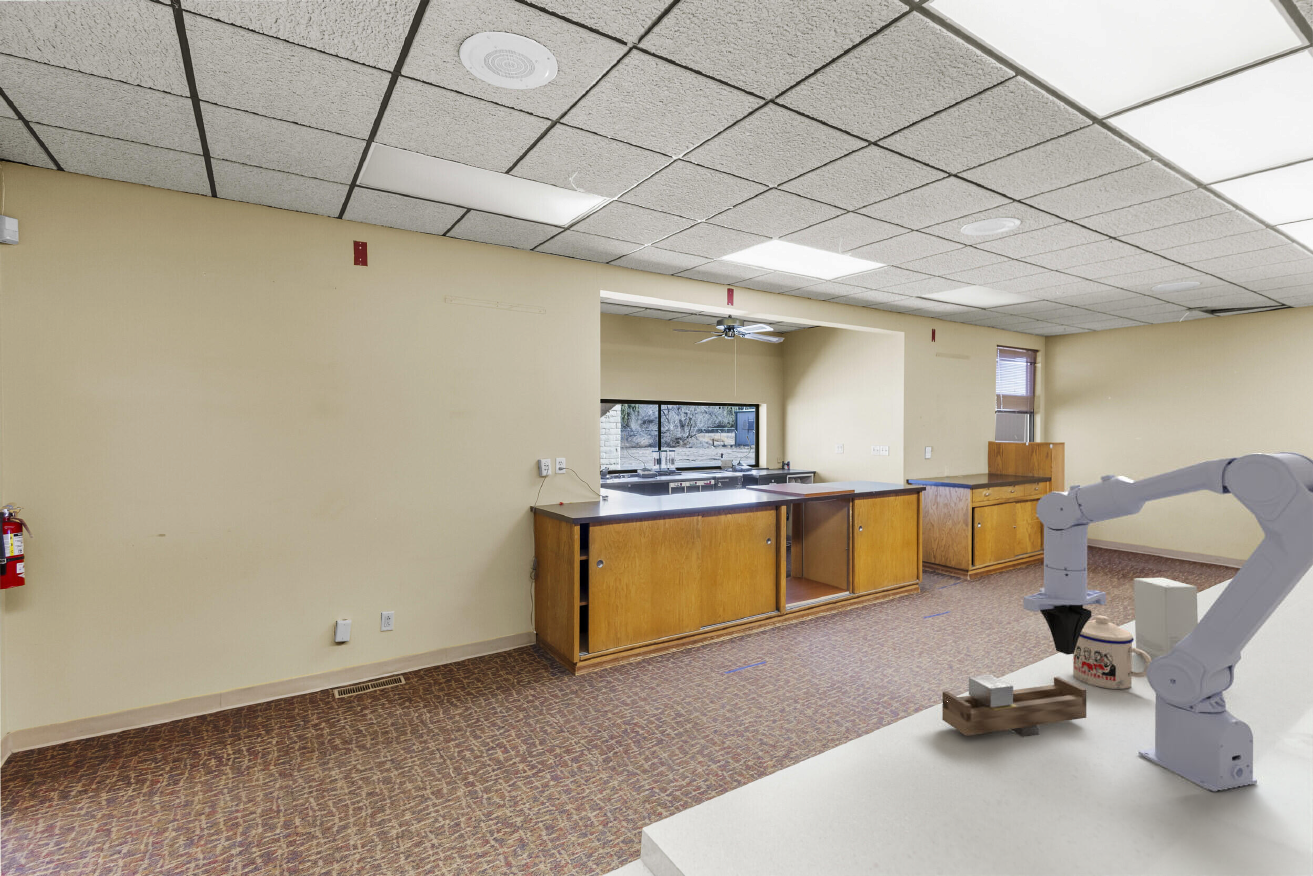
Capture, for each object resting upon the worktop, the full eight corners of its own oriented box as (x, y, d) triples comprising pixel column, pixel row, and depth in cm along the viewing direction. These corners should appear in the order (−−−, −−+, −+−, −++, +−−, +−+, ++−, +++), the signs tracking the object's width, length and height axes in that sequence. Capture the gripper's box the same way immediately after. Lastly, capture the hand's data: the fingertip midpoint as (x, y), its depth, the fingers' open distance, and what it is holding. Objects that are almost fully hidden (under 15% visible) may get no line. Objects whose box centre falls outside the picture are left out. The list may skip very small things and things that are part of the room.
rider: (990, 701, 96) (990, 674, 96) (1012, 713, 91) (1013, 685, 91) (968, 703, 95) (968, 677, 95) (990, 716, 90) (990, 688, 90)
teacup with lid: (1062, 677, 113) (1062, 614, 113) (1085, 666, 118) (1085, 606, 118) (1140, 701, 103) (1141, 632, 103) (1162, 689, 108) (1162, 623, 107)
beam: (1055, 709, 100) (1055, 675, 100) (1089, 727, 94) (1089, 690, 94) (940, 726, 94) (940, 690, 94) (968, 745, 89) (969, 707, 88)
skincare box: (1200, 668, 117) (1201, 587, 117) (1165, 667, 117) (1165, 587, 117) (1164, 652, 125) (1165, 576, 125) (1131, 652, 125) (1132, 576, 125)
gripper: (1077, 559, 103) (1076, 639, 103) (1007, 564, 99) (1007, 648, 99) (1119, 568, 96) (1118, 654, 96) (1045, 574, 92) (1045, 664, 92)
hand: (1064, 652), depth 97 cm, fingers closed
